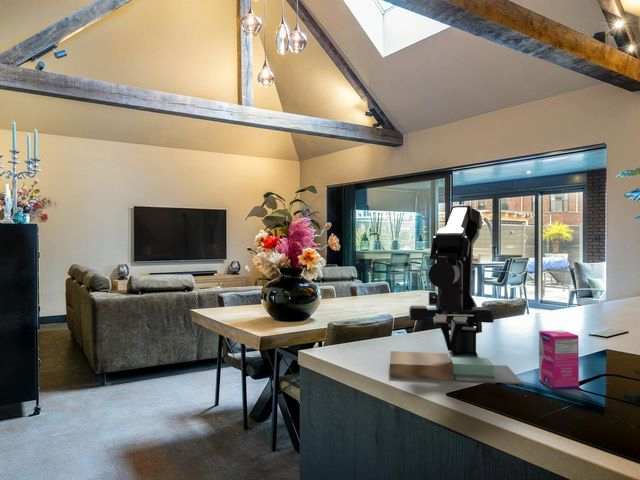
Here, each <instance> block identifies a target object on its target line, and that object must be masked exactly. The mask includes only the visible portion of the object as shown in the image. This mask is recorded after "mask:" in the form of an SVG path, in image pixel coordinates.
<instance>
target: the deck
mask: <svg viewBox="0 0 640 480" xmlns="http://www.w3.org/2000/svg"><path fill="white" fill-rule="evenodd" d="M449 357H450V356H449V355H448V353H447V352H446V353H442V352H418V351H417V352H416V351H394V350H390V356H389V358H390V360H389V361H390V362H389V377H391V378H408V379H424V380H425V379H429V380H447V381H453V380H454V375H453V365H452V363H451V361H450V359H449Z"/></svg>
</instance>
